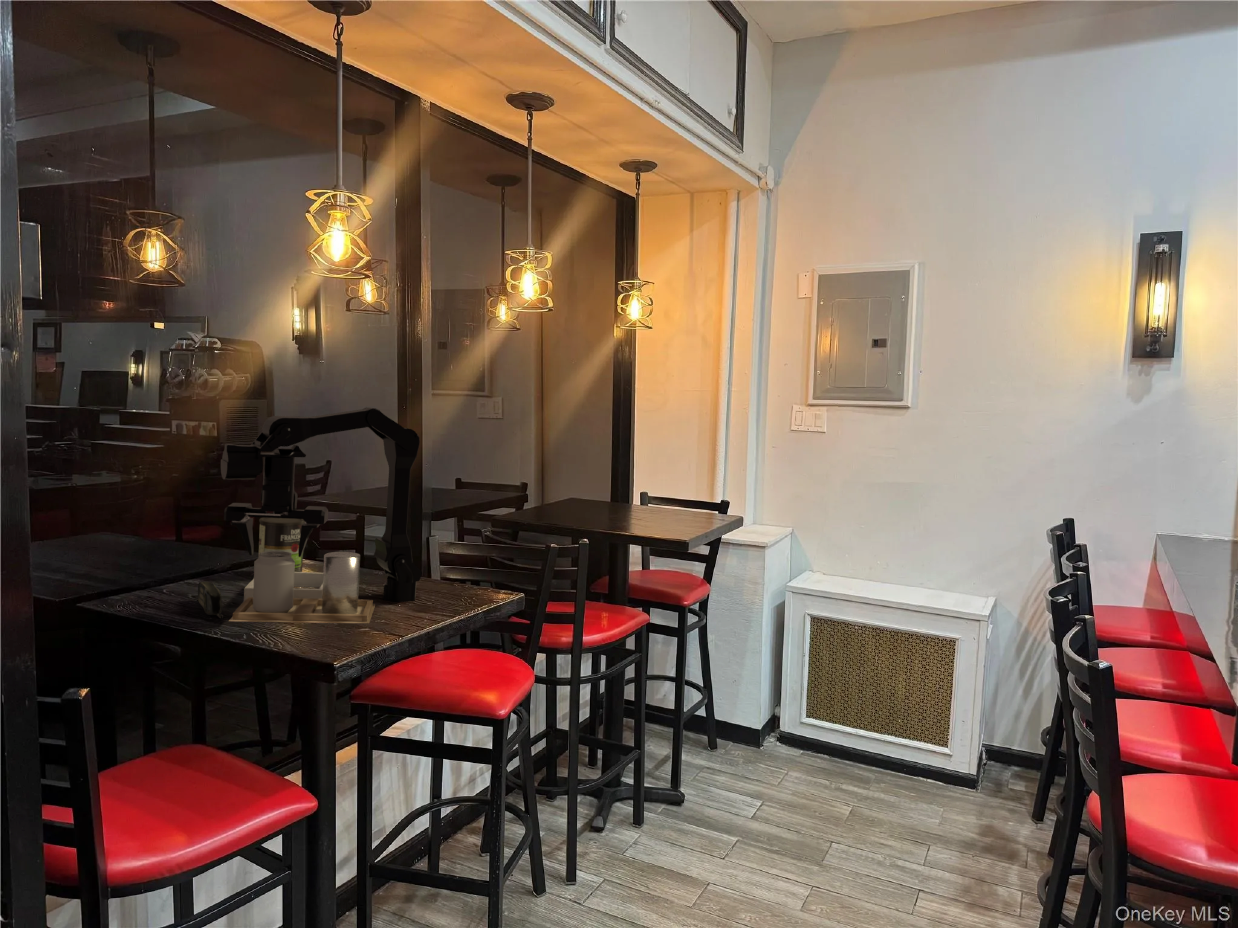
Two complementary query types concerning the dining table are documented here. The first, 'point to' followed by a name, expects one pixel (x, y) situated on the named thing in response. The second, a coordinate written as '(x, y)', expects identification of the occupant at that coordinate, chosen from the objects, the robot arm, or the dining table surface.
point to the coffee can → (281, 537)
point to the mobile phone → (210, 598)
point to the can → (273, 582)
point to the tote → (298, 585)
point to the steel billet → (340, 583)
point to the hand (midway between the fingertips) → (275, 555)
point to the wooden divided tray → (304, 613)
